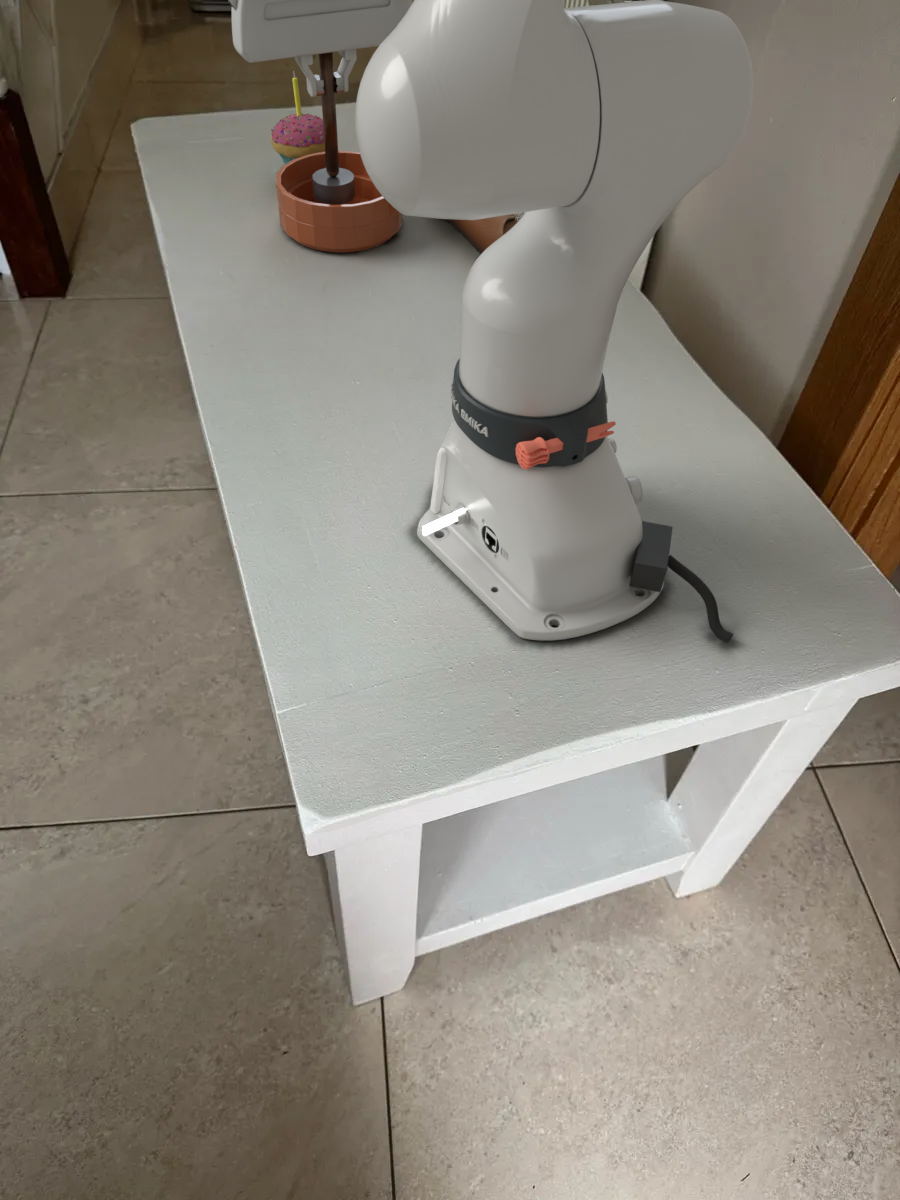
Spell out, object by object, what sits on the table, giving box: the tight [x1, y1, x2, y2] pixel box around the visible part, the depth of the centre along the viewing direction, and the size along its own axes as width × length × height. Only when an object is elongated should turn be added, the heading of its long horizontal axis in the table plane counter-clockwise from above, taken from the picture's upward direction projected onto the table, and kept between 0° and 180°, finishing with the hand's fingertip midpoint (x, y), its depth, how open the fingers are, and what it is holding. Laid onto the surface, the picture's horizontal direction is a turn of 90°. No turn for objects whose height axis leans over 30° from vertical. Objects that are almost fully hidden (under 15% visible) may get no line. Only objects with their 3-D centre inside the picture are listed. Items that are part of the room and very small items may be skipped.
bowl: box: [275, 150, 404, 253], centre depth 115 cm, size 15×15×6 cm
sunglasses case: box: [446, 214, 519, 255], centre depth 115 cm, size 18×7×7 cm
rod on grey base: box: [312, 52, 355, 205], centre depth 110 cm, size 5×5×18 cm
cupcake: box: [270, 70, 325, 166], centre depth 122 cm, size 9×8×12 cm
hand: (328, 92), depth 108 cm, fingers closed on rod on grey base
